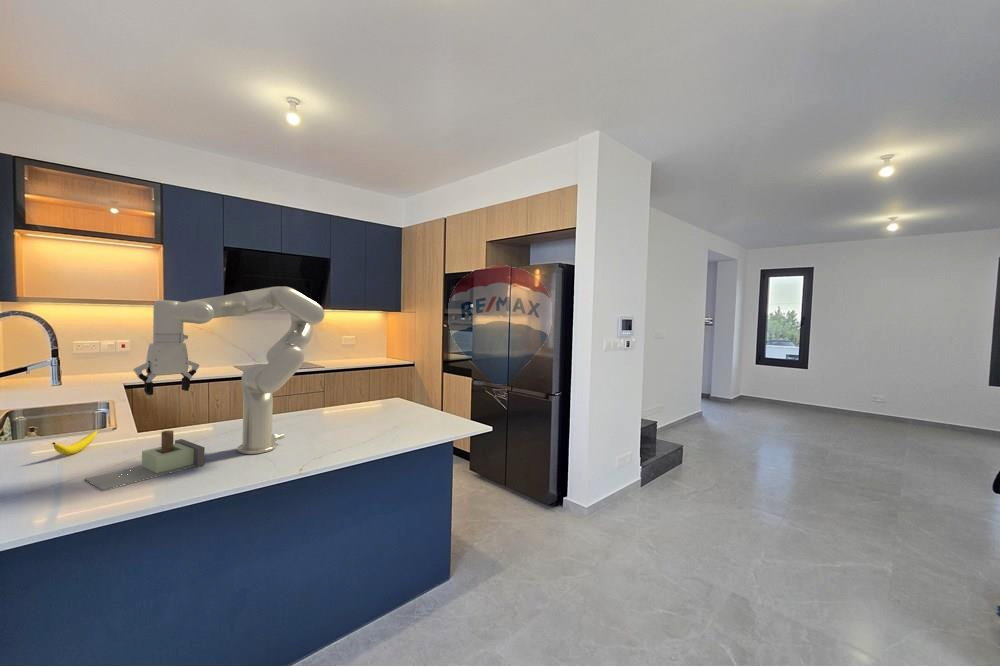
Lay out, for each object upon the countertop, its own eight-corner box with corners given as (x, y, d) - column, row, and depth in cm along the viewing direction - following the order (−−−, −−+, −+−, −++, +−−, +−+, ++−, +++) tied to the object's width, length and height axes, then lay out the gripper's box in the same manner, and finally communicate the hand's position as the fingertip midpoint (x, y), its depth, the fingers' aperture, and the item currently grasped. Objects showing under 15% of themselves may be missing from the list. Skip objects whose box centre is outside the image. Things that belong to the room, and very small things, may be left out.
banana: (102, 443, 153) (102, 426, 153) (58, 462, 135) (58, 442, 134) (93, 443, 153) (92, 426, 152) (47, 462, 134) (47, 442, 134)
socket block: (178, 457, 142) (178, 443, 141) (193, 463, 137) (193, 448, 136) (141, 466, 133) (142, 450, 133) (156, 473, 128) (156, 457, 128)
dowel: (170, 459, 137) (170, 429, 136) (175, 461, 135) (175, 431, 135) (159, 462, 134) (159, 432, 133) (163, 464, 132) (164, 433, 132)
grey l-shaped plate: (181, 455, 145) (181, 438, 144) (204, 465, 137) (204, 447, 137) (83, 479, 123) (83, 459, 122) (104, 491, 115) (104, 470, 115)
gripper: (193, 337, 142) (192, 387, 143) (128, 339, 127) (128, 394, 128) (204, 339, 138) (203, 390, 139) (140, 340, 123) (139, 398, 124)
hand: (167, 392), depth 133 cm, fingers open, 9 cm apart
